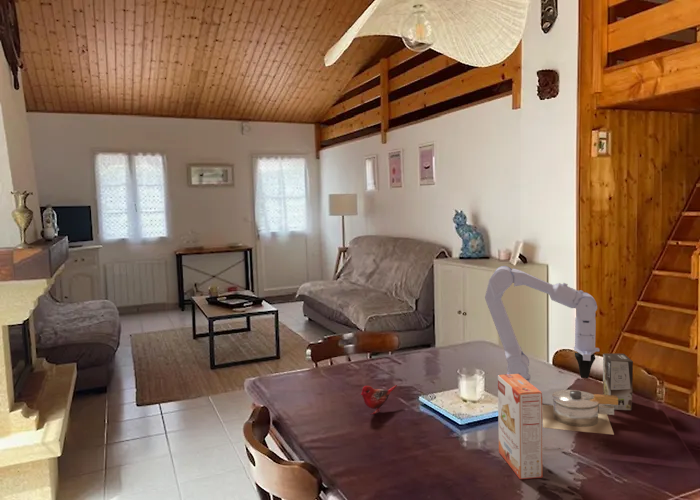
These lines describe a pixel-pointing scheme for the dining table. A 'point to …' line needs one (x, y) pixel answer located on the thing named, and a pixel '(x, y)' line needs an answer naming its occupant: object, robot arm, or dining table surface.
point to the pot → (580, 414)
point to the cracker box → (520, 425)
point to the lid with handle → (582, 399)
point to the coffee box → (618, 379)
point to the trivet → (600, 427)
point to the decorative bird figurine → (375, 397)
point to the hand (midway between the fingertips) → (584, 377)
